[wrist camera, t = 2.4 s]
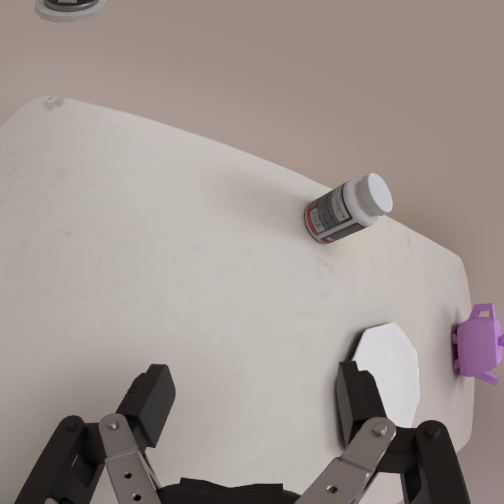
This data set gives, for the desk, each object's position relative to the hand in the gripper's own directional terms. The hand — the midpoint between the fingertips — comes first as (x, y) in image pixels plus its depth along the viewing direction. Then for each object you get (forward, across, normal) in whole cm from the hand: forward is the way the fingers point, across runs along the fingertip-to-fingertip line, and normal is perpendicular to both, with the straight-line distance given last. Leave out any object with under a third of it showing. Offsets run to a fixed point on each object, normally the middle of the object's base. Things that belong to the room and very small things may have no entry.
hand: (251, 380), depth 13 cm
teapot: (+40, -42, +34) cm, 68 cm away
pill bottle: (+28, -6, 0) cm, 29 cm away
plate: (+20, -14, +22) cm, 33 cm away
